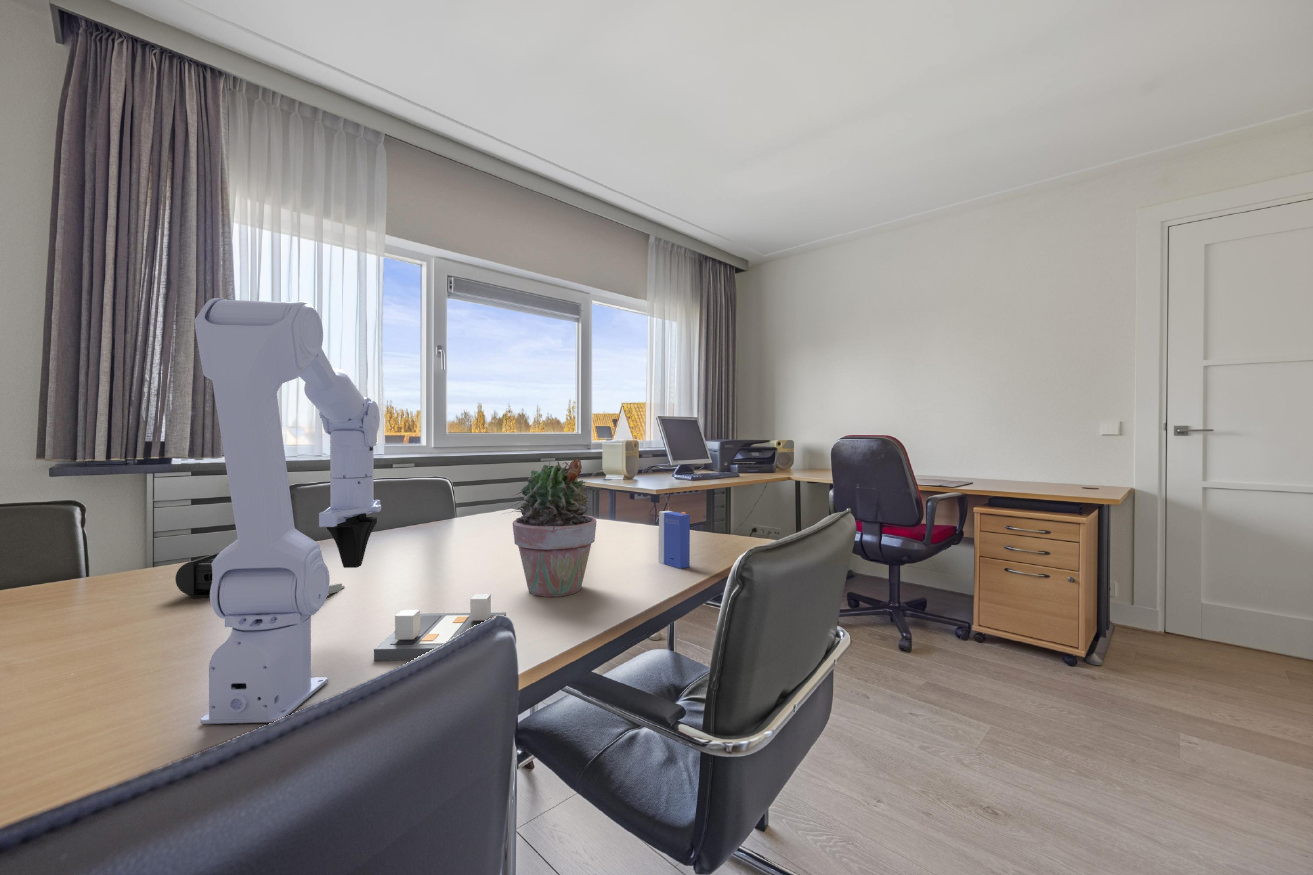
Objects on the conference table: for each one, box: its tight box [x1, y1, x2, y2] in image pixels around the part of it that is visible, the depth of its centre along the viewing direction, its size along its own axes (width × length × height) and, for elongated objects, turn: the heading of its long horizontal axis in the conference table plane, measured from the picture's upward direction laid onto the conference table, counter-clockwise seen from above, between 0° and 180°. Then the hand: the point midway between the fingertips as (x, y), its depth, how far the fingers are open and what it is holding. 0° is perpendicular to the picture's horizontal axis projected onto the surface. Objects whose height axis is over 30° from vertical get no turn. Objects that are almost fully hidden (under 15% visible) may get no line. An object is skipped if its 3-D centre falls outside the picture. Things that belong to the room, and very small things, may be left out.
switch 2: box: [469, 593, 492, 621], centre depth 83 cm, size 2×2×3 cm
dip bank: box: [373, 611, 507, 662], centre depth 79 cm, size 14×14×2 cm
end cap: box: [174, 551, 221, 599], centre depth 103 cm, size 10×7×7 cm
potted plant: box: [502, 458, 604, 598], centre depth 105 cm, size 18×20×25 cm
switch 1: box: [394, 609, 421, 640], centre depth 76 cm, size 2×2×3 cm
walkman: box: [658, 510, 691, 570], centre depth 124 cm, size 8×3×12 cm, turn 37°
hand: (352, 566), depth 83 cm, fingers closed
